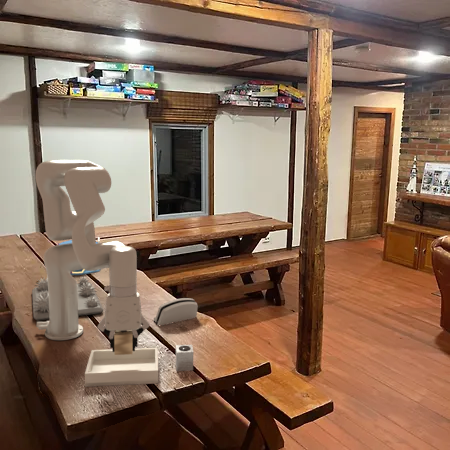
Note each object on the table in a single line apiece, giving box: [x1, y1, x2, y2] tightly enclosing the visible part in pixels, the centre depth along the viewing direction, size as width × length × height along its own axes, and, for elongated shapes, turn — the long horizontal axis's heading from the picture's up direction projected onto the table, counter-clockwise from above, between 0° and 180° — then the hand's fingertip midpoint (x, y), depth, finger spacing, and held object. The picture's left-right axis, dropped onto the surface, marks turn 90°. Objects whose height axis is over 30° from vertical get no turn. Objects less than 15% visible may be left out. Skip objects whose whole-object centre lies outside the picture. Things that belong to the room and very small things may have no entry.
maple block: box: [114, 330, 133, 355], centre depth 132 cm, size 5×5×6 cm
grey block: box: [175, 344, 194, 372], centre depth 138 cm, size 5×5×6 cm
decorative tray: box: [31, 275, 104, 322], centre depth 186 cm, size 35×26×10 cm
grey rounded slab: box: [152, 297, 199, 326], centre depth 172 cm, size 17×5×10 cm, turn 125°
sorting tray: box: [84, 347, 159, 388], centre depth 134 cm, size 20×14×4 cm
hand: (124, 348), depth 132 cm, fingers closed on maple block, 5 cm apart
